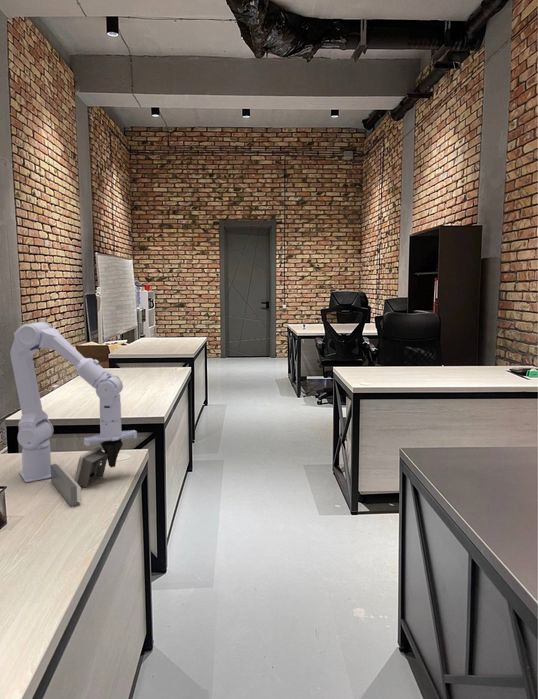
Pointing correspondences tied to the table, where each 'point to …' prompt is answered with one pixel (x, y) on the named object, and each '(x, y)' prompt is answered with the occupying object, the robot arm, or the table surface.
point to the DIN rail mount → (65, 485)
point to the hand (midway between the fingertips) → (111, 466)
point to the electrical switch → (91, 467)
